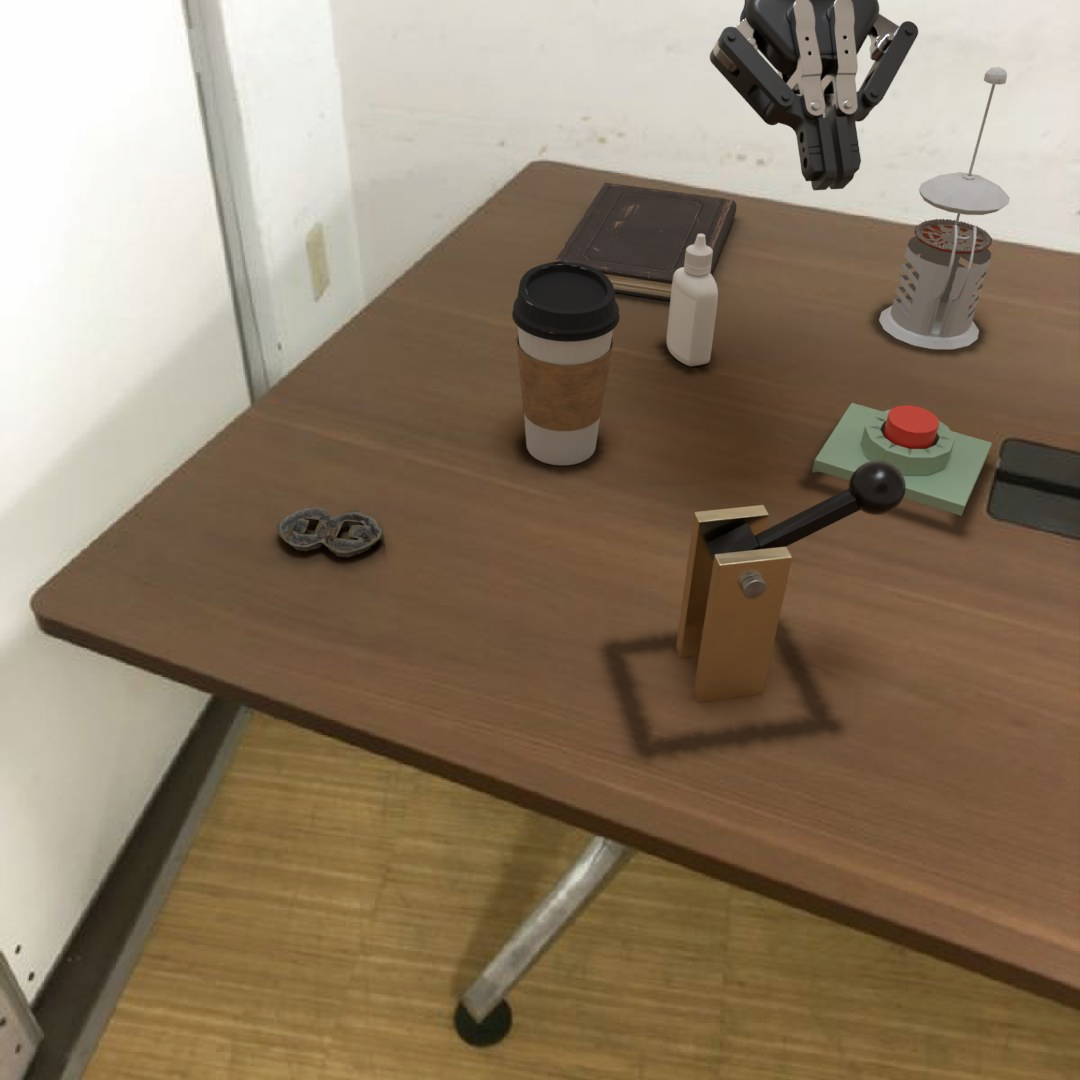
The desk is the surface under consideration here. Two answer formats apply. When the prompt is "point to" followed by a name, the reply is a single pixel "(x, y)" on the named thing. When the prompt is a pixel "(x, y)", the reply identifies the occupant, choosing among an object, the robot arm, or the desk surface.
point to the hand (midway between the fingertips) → (834, 184)
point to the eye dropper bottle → (693, 307)
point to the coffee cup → (564, 357)
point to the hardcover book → (646, 236)
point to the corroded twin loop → (330, 531)
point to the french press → (947, 258)
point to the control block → (907, 458)
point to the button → (911, 427)
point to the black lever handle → (824, 511)
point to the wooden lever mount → (731, 606)
